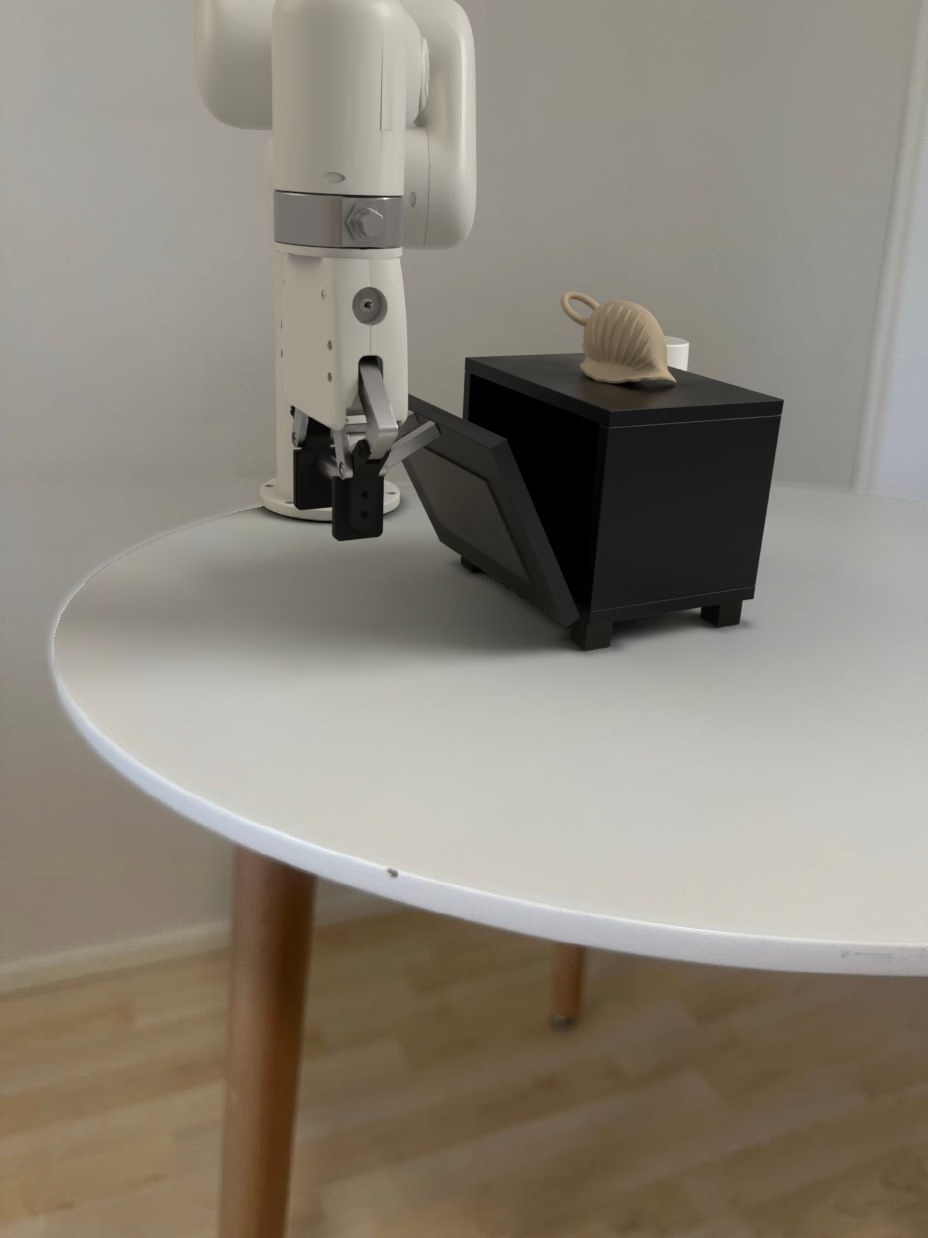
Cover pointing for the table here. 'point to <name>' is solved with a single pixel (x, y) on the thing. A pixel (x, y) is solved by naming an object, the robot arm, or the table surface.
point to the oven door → (477, 503)
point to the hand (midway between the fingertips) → (336, 519)
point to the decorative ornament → (620, 341)
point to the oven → (636, 483)
